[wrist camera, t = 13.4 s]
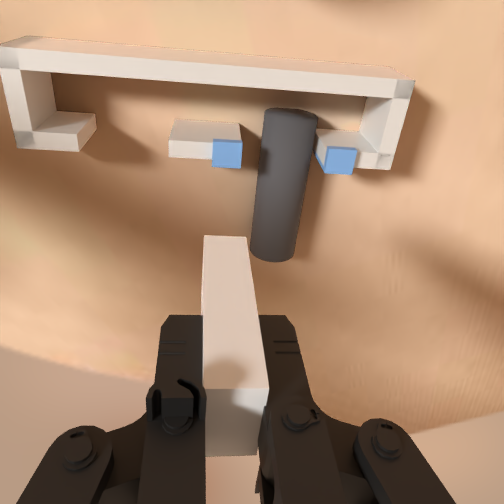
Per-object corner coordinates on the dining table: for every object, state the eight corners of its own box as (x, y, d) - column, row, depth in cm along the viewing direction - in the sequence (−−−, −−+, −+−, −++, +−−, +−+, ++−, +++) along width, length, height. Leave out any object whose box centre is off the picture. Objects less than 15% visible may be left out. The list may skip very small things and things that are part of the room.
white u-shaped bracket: (43, 129, 32) (14, 155, 28) (26, 35, 29) (-11, 47, 24) (368, 150, 35) (391, 177, 30) (389, 66, 32) (419, 82, 27)
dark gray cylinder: (282, 235, 40) (301, 258, 37) (243, 240, 39) (260, 265, 36) (302, 107, 34) (327, 122, 31) (256, 107, 32) (278, 123, 29)
